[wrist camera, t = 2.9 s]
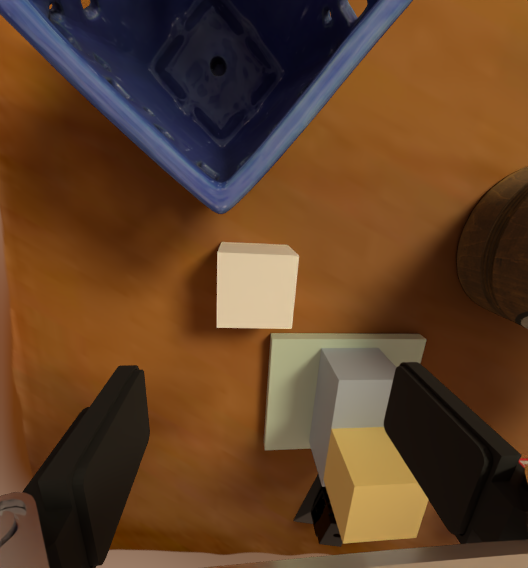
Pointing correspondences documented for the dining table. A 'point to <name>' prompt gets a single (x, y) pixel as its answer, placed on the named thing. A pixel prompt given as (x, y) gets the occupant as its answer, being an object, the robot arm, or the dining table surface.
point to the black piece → (320, 515)
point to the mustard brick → (371, 487)
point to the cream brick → (256, 285)
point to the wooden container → (498, 250)
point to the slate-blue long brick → (348, 395)
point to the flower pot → (206, 74)
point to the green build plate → (314, 378)
